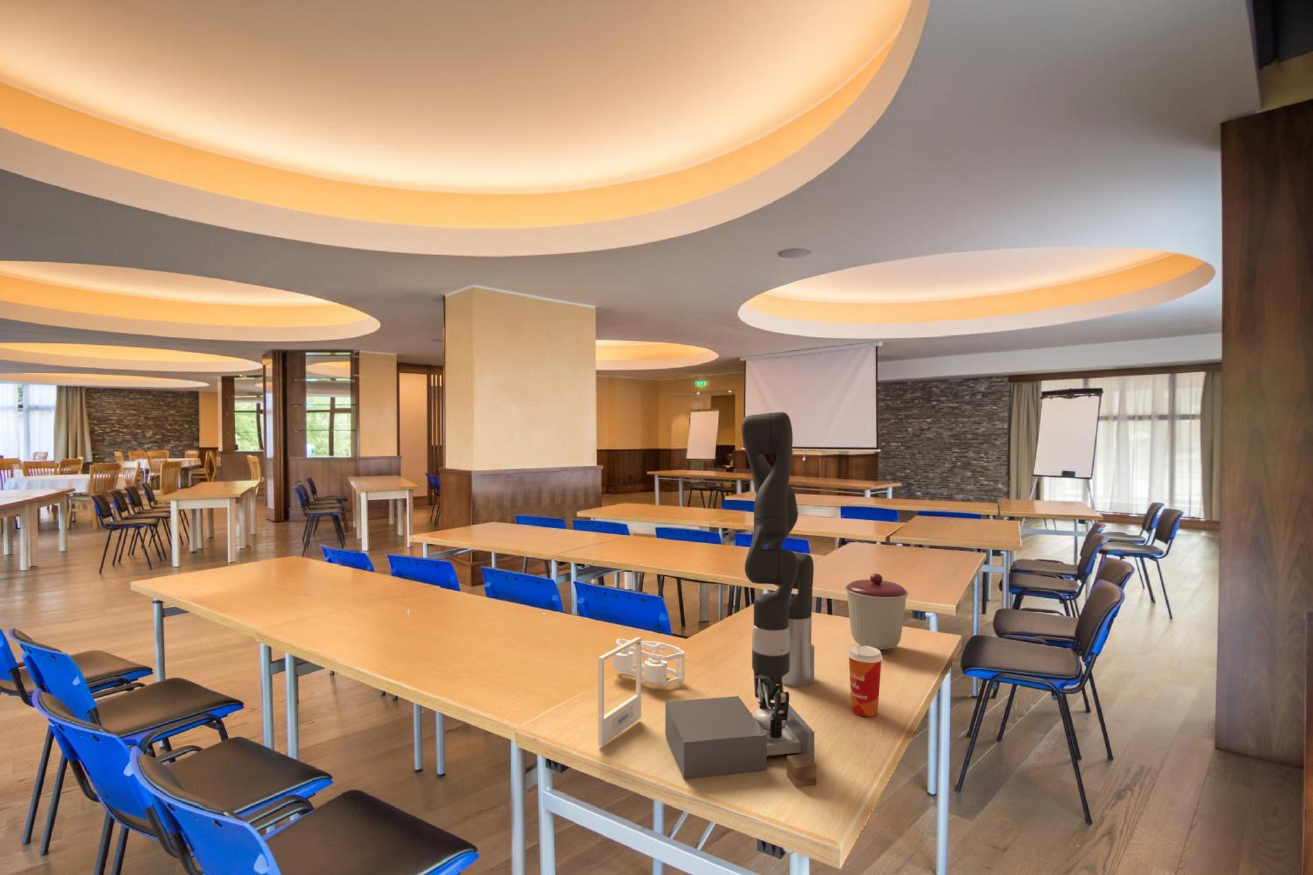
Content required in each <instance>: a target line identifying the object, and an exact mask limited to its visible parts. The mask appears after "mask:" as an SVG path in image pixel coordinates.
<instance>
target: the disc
mask: <svg viewBox="0 0 1313 875" xmlns="http://www.w3.org/2000/svg"><path fill="white" fill-rule="evenodd" d="M773 710H774V708H773ZM754 718H755V719H756V721H757V722H758V723H759V725H760V726H761V727H762V729H763V730H766V731H770V712H769V708H763V709H759V708H758V709H756V710H755V713H754ZM784 728H785V720H783V721H782V729H784Z"/></svg>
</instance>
